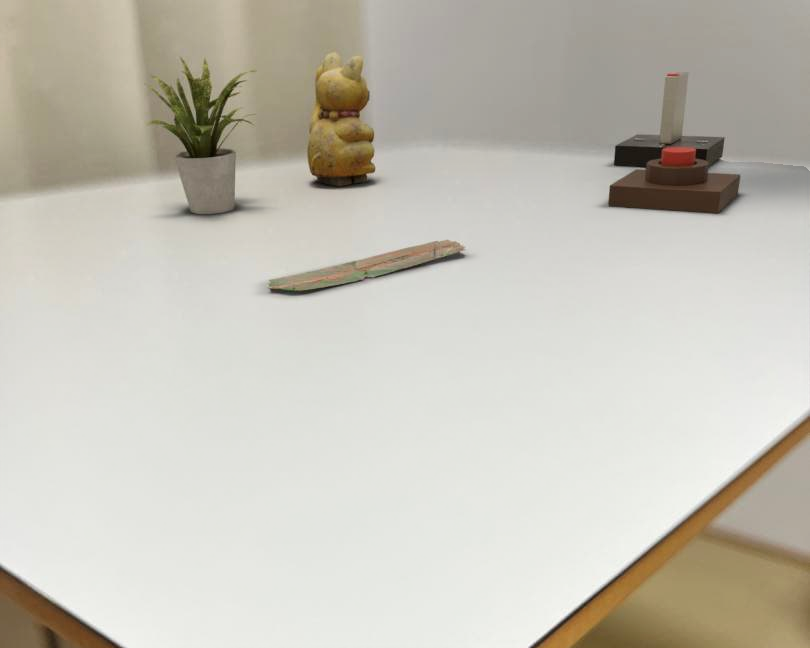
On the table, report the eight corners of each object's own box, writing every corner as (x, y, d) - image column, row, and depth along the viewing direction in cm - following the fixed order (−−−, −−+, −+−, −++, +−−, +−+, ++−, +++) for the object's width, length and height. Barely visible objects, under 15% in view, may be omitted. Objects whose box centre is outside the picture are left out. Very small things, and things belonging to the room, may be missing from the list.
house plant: (291, 215, 107) (275, 54, 98) (168, 230, 103) (141, 63, 94) (263, 193, 118) (247, 47, 110) (152, 205, 114) (126, 55, 106)
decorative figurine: (388, 180, 122) (383, 51, 114) (344, 192, 117) (335, 57, 109) (336, 174, 128) (327, 50, 120) (291, 184, 123) (279, 55, 115)
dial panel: (722, 156, 128) (725, 135, 126) (704, 169, 120) (707, 147, 119) (635, 153, 133) (637, 132, 131) (613, 165, 125) (615, 144, 124)
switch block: (737, 194, 107) (743, 157, 105) (717, 213, 99) (723, 173, 97) (634, 188, 112) (637, 152, 110) (608, 206, 104) (610, 168, 102)
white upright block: (670, 137, 127) (676, 70, 123) (681, 137, 127) (689, 70, 123) (658, 143, 123) (665, 74, 119) (671, 144, 123) (678, 74, 118)
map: (257, 291, 83) (255, 280, 82) (441, 239, 92) (440, 229, 92) (285, 304, 79) (283, 293, 79) (473, 248, 89) (473, 238, 88)
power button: (697, 164, 104) (699, 147, 103) (689, 170, 102) (691, 152, 101) (665, 162, 106) (667, 146, 105) (656, 168, 103) (658, 151, 102)
